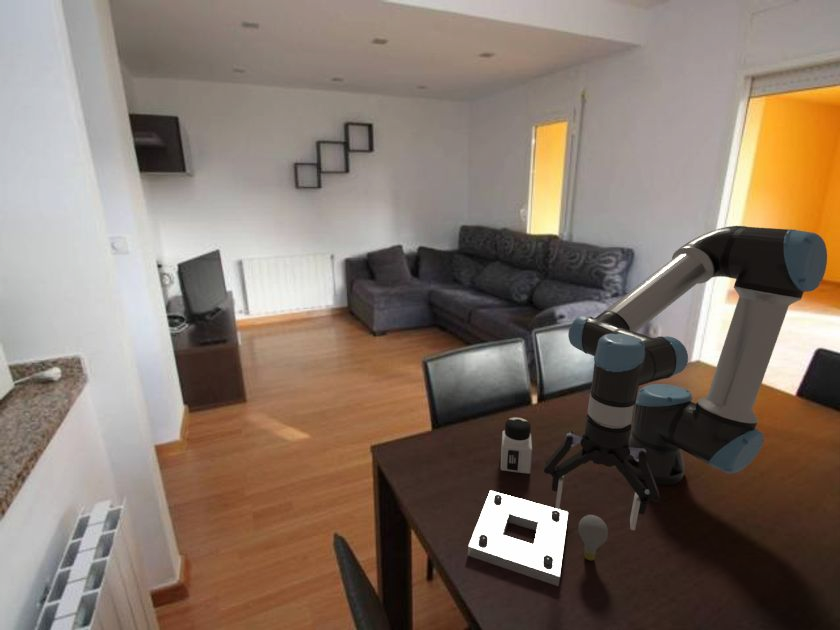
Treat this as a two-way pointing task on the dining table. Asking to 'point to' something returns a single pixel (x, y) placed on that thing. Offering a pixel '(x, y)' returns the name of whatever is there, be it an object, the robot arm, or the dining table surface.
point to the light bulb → (592, 534)
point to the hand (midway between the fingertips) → (594, 514)
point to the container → (516, 446)
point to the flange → (514, 553)
